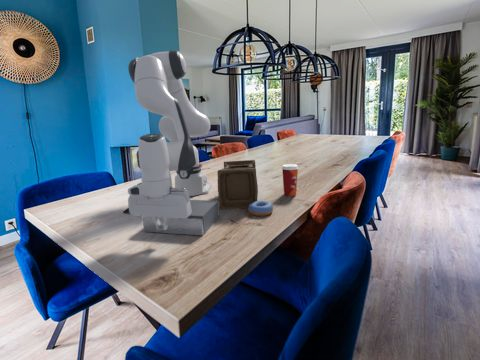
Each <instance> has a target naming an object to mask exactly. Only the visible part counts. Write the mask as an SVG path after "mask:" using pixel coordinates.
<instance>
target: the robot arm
mask: <svg viewBox="0 0 480 360" xmlns="http://www.w3.org/2000/svg"><path fill="white" fill-rule="evenodd" d="M128 73H129V74H128V75H129V77H130V79H131V81H132V82H133V84H134V92H135V98H136V101H137V103H138V105H140V107H142V108H143V109H145V110H146V111H147V112H150V113H152V114H156V115H160V116H162V117H161V118H160V119H159V122H158V130H159V132H160V133H147V134H143V135H141V136H140V137H139V138H138V150H137V151H136V154H135V155H136V162H137V167H138V168H139V169H140V170H141V179H140V180H141V182H139V183H137V184H134V185H133V186H131V187H129V188H127V194H128V195H129V196H128V198H127V201H128V202H127V203H128V204H127V205H128V208H129V212H130V215H131V216H134V217H143V216H147V217H152V220H153V221H154V223H155V224H156V227H157V230H166V229H167V228H168V227H167V223H168V221H169V219H170V218H187V217H189V216H190V214H191V213H192V209H191V204H190V200H191V198H190V197H195V196H199V195H204V194H209V192H210V190H211V188H212V186H213V185H212V183H210V182H209V183H208V177H207V175H206V174H205V173H204V172H202V168H203V163H202V162H201V163H200V160H199V150H198V148H197V147H196V146H195V145H193V142H192V140H191V138H198V137H203V136H207V135H208V134H209V132H210V130H211V121H210V119H209V117H208V116H207V115H206V114H204V113H202V112H201V111H198V110H197V109H196V108H195V106H194V105H193V104H192V103H191V102H190V99H189V97H188V95H187V92H186V89H185V85H184V83H183V80H182V78H184V77H185V75H186V73H187V62H186V60H185V57H184V55H183V54H182V52H180V51H179V50H174V49H173V50H169V51H158V52H153V53H151V54H147V55H143V56H140V57H135V58H132V59H131V60H130V62H129V63H128ZM167 140H168V141H167ZM172 171H173V172H174V171H175V172H176V175H175V177H174V187H173V182H172V174H171V172H172ZM159 217H163V220H165V221H164V223H161V222H160V220H159V219H158V218H159Z"/></svg>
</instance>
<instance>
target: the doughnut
mask: <svg viewBox="0 0 480 360" xmlns="http://www.w3.org/2000/svg"><path fill="white" fill-rule="evenodd" d="M273 210H274V206H273V204H272V202H269V201H266V200H257V201H255V202H252V203H251V204H249V206H248V209H247V211H248V213H249V214H250V215H252V216H256V217H265V216H269V215H270V214H272V212H273Z"/></svg>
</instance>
